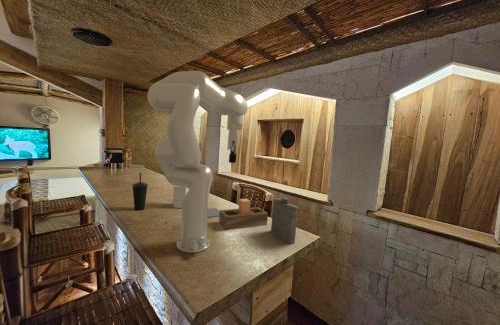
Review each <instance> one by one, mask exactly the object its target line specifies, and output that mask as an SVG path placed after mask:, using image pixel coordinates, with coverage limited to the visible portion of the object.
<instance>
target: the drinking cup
mask: <svg viewBox="0 0 500 325" xmlns="http://www.w3.org/2000/svg"><path fill="white" fill-rule="evenodd" d="M148 186H149V184H148V183H146V182H142V172H139V181H138V182H134V183H132V184H131V187H132V195H133V208H134V211H137V212H138V211H139V212H141V211H144V210H145V208H146V207H145V206H146V200H147V192H148Z"/></svg>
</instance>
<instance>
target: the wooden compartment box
mask: <svg viewBox="0 0 500 325" xmlns="http://www.w3.org/2000/svg"><path fill="white" fill-rule="evenodd" d="M238 210H239V208H234V209H233V208H231V209H219V211H220V213H219V217H218V222H219V224H220V225H221V226H222V227H223V228H224V230H226V231H229V230H230V231H231V230H237V229H245V228H252V227H253V228H254V227H260V226H267V225H268V220H269V219H268V218H269V217H268V216H269V213H268V212H267V211H265V210H264V209H263V208H261V207H259V206H256V207H253V206H252V207H250V213H248V214H240V213H239V212H238Z"/></svg>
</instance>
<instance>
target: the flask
mask: <svg viewBox="0 0 500 325" xmlns="http://www.w3.org/2000/svg"><path fill="white" fill-rule="evenodd" d="M298 212H299V206H298V205H295V204H293V203H289V197H286V196H282V197H281V198H276V197H274V198H273V204H272V216H271V226H270V232H271V234H273V235H274V236H275V237H277V238H279V239H281V240H282V241H284V242H286V243H288V244H291V245H292V244H295V243H296V233H297V225H298V224H297V223H298V222H297V221H298V214H299V213H298Z"/></svg>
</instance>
